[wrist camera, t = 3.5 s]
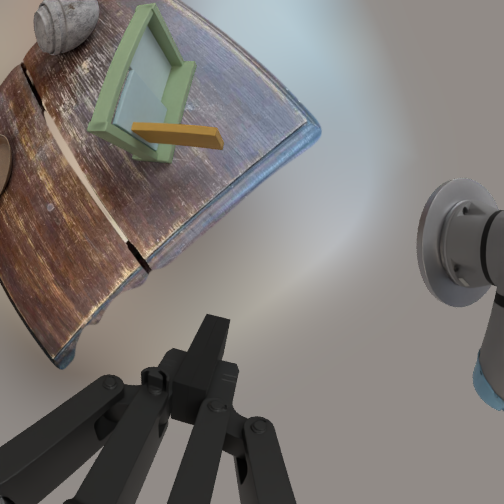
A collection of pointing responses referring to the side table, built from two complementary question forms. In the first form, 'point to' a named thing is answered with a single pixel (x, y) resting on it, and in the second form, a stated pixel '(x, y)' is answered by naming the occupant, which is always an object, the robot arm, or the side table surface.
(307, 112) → the side table surface
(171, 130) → the window pane
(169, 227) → the side table surface
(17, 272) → the side table surface
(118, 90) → the window frame
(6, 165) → the saucer
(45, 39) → the decorative orb
